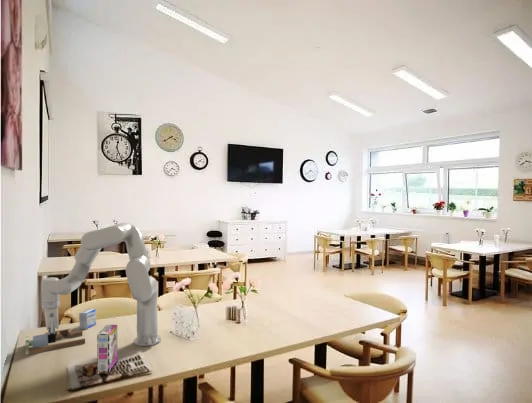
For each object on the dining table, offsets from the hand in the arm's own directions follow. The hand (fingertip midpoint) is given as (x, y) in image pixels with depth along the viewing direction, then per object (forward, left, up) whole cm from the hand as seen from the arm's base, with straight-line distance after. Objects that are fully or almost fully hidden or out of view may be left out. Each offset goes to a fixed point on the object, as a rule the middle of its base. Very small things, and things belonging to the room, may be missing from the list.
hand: (51, 342), depth 180 cm
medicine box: (+17, -18, -2) cm, 25 cm away
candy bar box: (-39, -19, -2) cm, 43 cm away
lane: (+3, -2, -1) cm, 3 cm away
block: (0, +5, -1) cm, 5 cm away
